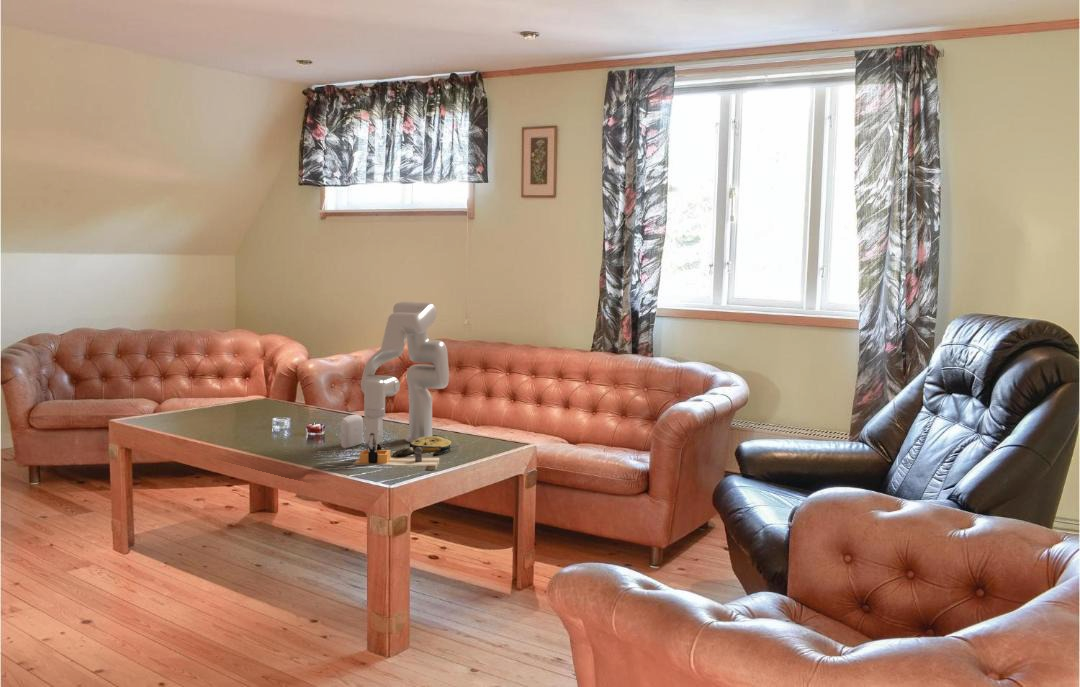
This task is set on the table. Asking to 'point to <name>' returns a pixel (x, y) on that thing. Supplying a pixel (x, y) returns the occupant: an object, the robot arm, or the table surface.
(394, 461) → the keeper board
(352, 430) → the photo printer
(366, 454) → the link
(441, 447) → the pulley block
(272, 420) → the table surface
